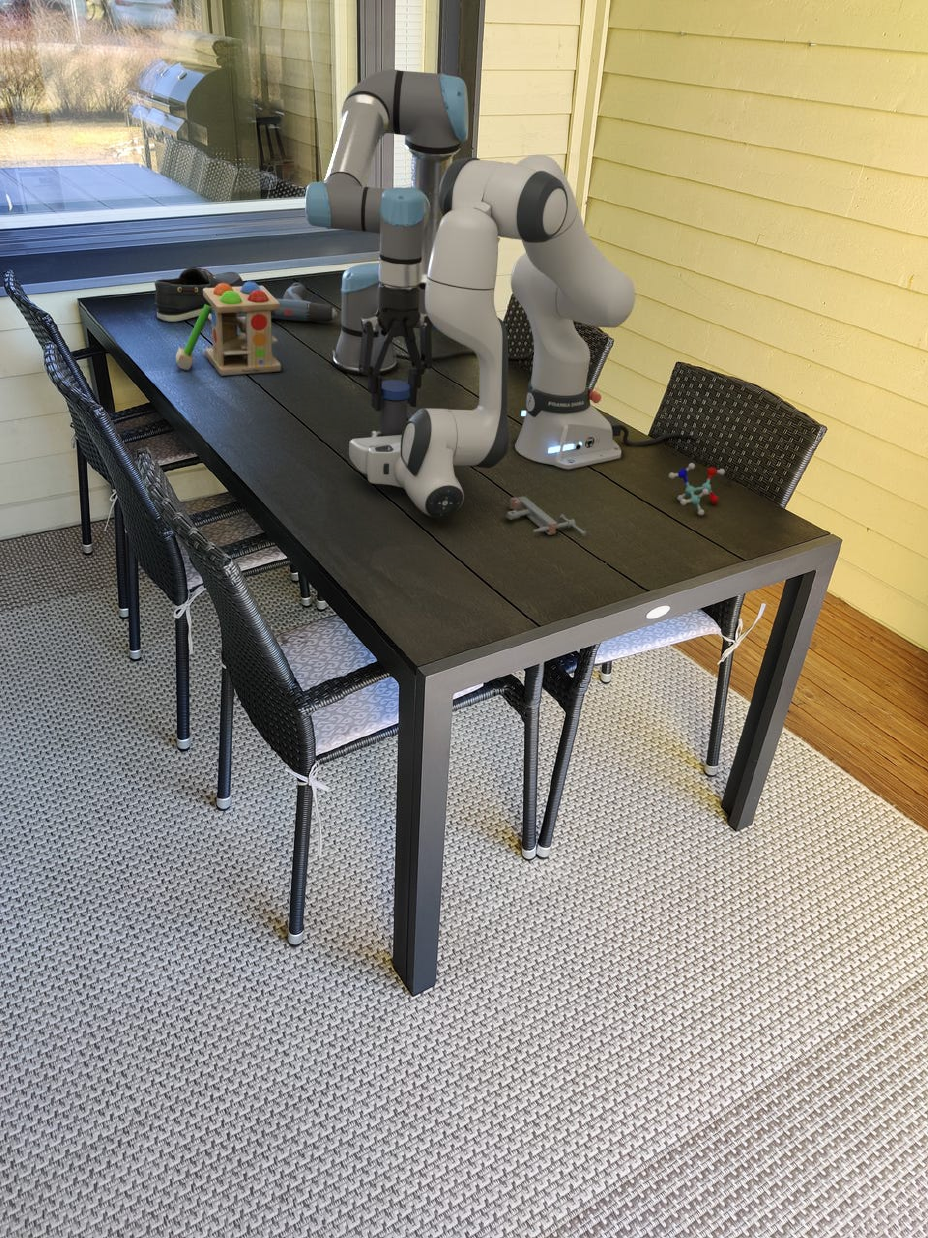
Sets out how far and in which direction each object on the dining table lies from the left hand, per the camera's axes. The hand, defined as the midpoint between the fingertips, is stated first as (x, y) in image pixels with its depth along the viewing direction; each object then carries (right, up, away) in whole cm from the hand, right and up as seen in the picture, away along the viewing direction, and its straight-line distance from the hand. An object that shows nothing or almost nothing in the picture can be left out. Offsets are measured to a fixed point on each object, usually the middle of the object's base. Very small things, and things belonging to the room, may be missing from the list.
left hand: (393, 406), depth 187 cm
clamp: (+27, -24, -9) cm, 37 cm away
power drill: (-30, +43, +80) cm, 96 cm away
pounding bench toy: (-43, +19, +44) cm, 64 cm away
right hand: (-1, -4, +4) cm, 6 cm away
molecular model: (+57, -18, +4) cm, 60 cm away
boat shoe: (-57, +44, +78) cm, 106 cm away
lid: (0, +3, -2) cm, 4 cm away
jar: (-1, -10, +7) cm, 12 cm away
